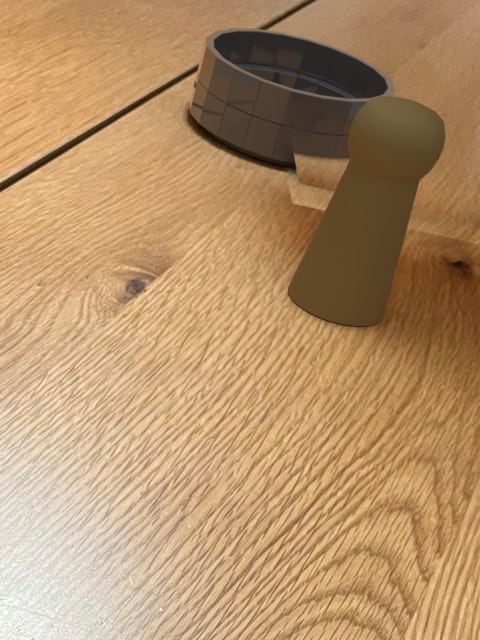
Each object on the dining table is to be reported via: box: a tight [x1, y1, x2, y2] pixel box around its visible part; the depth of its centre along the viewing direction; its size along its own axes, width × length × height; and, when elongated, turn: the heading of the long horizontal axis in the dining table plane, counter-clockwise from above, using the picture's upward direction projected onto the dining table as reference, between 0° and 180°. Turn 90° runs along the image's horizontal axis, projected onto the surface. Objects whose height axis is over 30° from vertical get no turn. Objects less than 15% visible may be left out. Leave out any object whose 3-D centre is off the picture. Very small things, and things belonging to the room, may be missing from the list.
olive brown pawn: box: [287, 96, 447, 327], centre depth 73 cm, size 6×6×11 cm
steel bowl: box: [189, 27, 397, 169], centre depth 94 cm, size 14×14×5 cm
